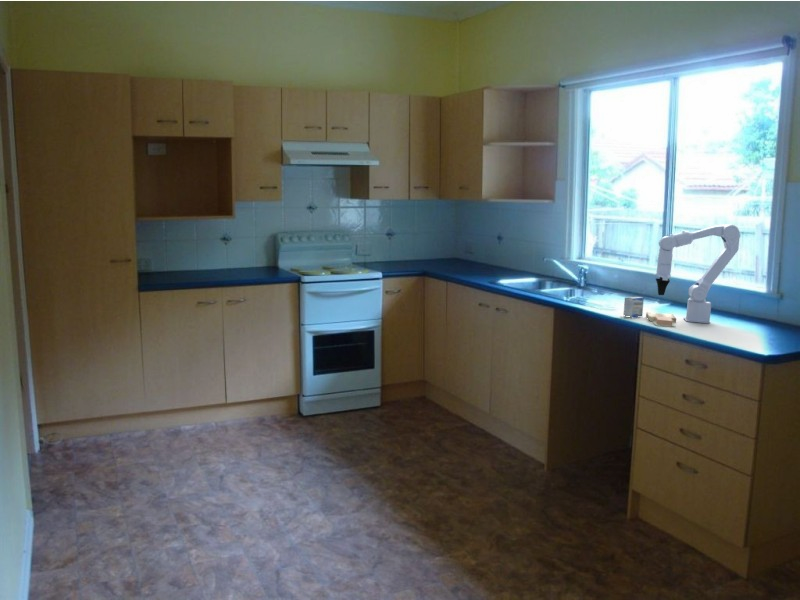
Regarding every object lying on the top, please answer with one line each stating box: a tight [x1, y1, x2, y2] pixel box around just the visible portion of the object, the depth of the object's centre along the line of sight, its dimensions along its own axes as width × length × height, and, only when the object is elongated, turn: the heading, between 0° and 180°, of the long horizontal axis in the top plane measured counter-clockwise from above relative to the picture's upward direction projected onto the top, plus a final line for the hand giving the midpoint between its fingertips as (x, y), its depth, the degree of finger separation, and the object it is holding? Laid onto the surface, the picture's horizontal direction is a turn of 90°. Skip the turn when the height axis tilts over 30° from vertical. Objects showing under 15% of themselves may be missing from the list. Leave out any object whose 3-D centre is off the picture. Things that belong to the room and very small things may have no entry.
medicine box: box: [623, 296, 645, 318], centre depth 322 cm, size 8×4×9 cm, turn 126°
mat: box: [652, 321, 676, 328], centre depth 307 cm, size 8×10×1 cm
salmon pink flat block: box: [655, 316, 674, 327], centre depth 307 cm, size 6×9×2 cm, turn 167°
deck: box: [645, 311, 677, 324], centre depth 317 cm, size 11×11×2 cm
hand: (660, 295), depth 319 cm, fingers closed
